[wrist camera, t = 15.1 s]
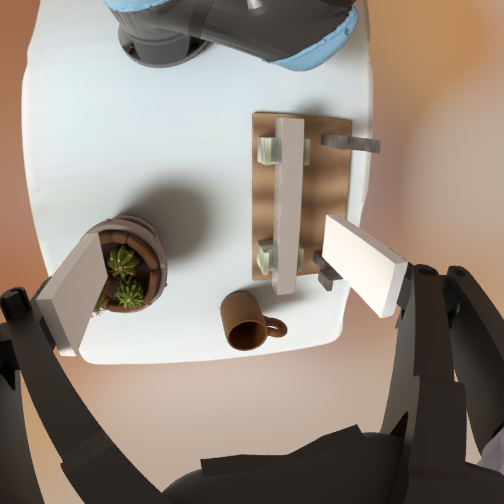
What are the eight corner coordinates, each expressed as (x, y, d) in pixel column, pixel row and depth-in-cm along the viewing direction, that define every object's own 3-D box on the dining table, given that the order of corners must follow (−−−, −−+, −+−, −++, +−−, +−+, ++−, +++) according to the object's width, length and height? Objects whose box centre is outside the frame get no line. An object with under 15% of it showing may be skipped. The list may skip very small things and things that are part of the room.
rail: (275, 118, 38) (282, 117, 35) (296, 119, 39) (304, 119, 36) (271, 285, 50) (276, 295, 47) (288, 283, 50) (294, 293, 47)
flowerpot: (168, 199, 44) (155, 247, 27) (172, 281, 51) (170, 358, 33) (87, 204, 41) (34, 252, 24) (99, 283, 48) (69, 356, 30)
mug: (281, 292, 57) (296, 320, 49) (272, 322, 60) (285, 351, 51) (222, 288, 54) (230, 318, 45) (216, 319, 56) (223, 351, 48)
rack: (252, 113, 41) (273, 108, 31) (349, 120, 45) (389, 122, 34) (252, 278, 54) (268, 315, 43) (336, 268, 57) (365, 298, 47)
